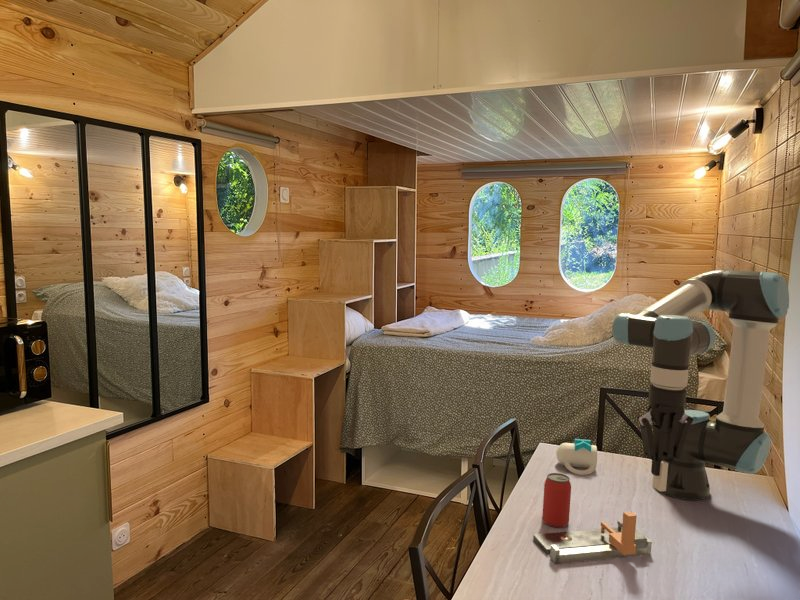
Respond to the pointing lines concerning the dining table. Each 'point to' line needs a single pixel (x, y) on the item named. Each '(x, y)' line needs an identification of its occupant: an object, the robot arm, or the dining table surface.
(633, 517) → the block
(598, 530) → the hole plate
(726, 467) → the robot arm
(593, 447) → the mug
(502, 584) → the dining table surface
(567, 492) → the beer can
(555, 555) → the beam
